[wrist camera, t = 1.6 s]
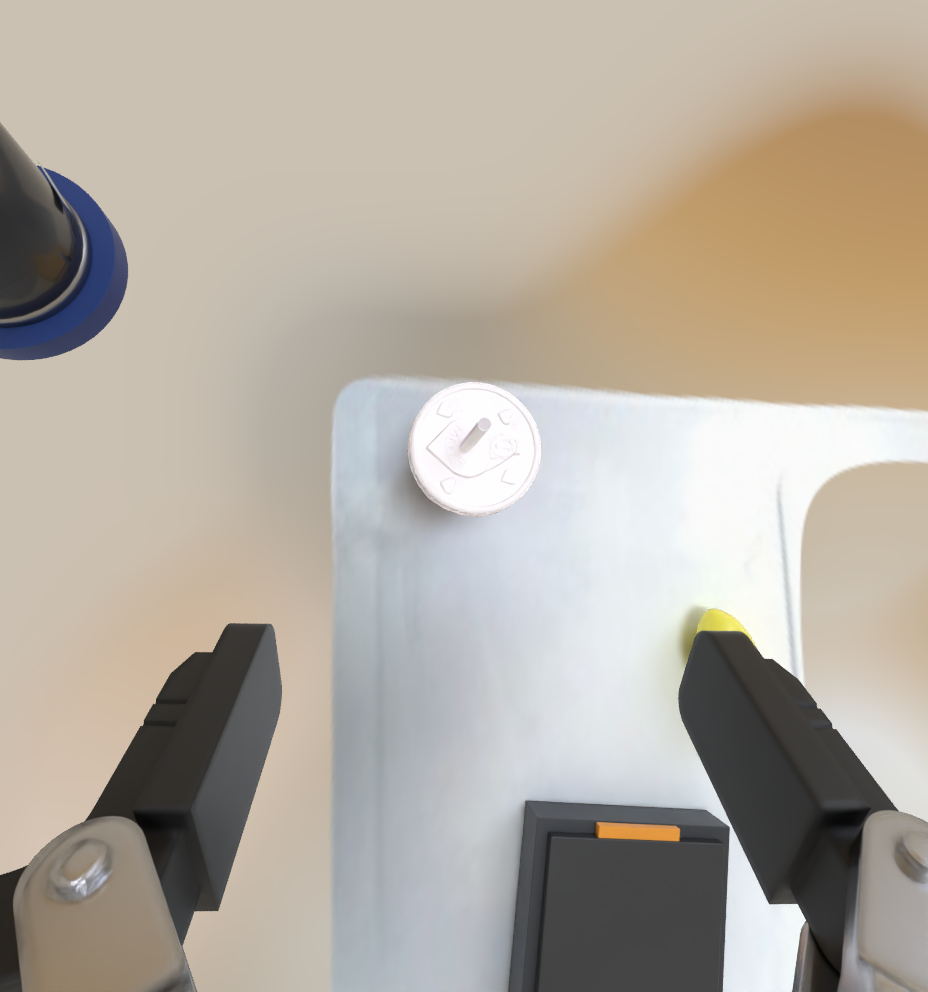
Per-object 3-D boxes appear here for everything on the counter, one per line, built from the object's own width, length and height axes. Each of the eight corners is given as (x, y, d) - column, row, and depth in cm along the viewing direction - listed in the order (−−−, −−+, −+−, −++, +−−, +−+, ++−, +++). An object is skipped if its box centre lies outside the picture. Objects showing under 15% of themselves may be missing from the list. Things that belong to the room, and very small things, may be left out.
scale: (505, 1020, 32) (519, 1065, 30) (525, 800, 34) (540, 822, 31) (696, 1018, 34) (726, 1061, 31) (706, 809, 36) (736, 831, 33)
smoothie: (395, 428, 36) (413, 343, 22) (494, 428, 37) (570, 346, 23) (399, 530, 35) (420, 507, 21) (500, 526, 36) (582, 502, 22)
